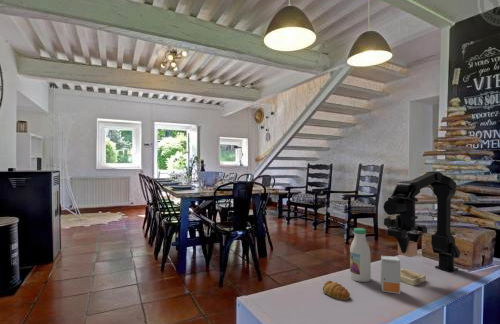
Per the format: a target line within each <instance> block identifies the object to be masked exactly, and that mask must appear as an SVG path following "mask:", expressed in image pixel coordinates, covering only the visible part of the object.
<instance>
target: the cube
mask: <svg viewBox="0 0 500 324" xmlns="http://www.w3.org/2000/svg"><path fill="white" fill-rule="evenodd" d="M397 255H400V256H404V257H407V258H412V257H415V256H418V243H416V242H412V241H409V243H408V246H407V250H406V252H405V253H402V251H401V248H400V246H399V243H398V242H397Z"/></svg>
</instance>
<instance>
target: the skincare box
mask: <svg viewBox="0 0 500 324" xmlns="http://www.w3.org/2000/svg"><path fill="white" fill-rule="evenodd" d="M400 269H401V260H400V257H399V256H398V257H396V256H390V255H389V256H388V255H380V289H381V292H382V293H383V292H384V293H388V294H389V293H391V294H396V295H400V294H401V281H400Z"/></svg>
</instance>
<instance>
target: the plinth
mask: <svg viewBox="0 0 500 324" xmlns="http://www.w3.org/2000/svg"><path fill="white" fill-rule="evenodd" d="M426 276H427V275H424V274H422V273H419V272H415V271H412V270H409V269H406V268H400V283H404V284H407V285H410V286H416V285H418V284H421V283H423V282H426V279H427V277H426Z"/></svg>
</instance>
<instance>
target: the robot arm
mask: <svg viewBox="0 0 500 324" xmlns="http://www.w3.org/2000/svg"><path fill="white" fill-rule="evenodd" d="M395 185H396V186H395V188H394V190H393V191H392V193H391V196H388V197H387V200H386V201H384V204H383V207H382V208H383V210H384V212H385V214H387V215H389V216H392V215H393V216H394V215H396V216H395V218H393V219H391V218H390V217H386V218H383V226H385V227H386V228H387V229H386V236H389V237H393V238H395V239H396V240H397V244H398V243H399V246H400V248H401V251H402V253H405V252H406V250H407V246H408V243H409V241H412V242H416V243H417V244H418V242H419V241H420V240H421V238H422V236H423V234H427V233H428V227H427V226H426V225H424V224H420V223H419V224H417V223H416V220H417V219H418V218H419V217H418V216H417V215H416V203H417V202H419V199H418V198H417V197H416V196H418V195H419V194H420V193H421V190H422V189H424V188H426V187H428V186H431V188H432V193H433V194H434V195H435V197H436V201H437V202H436V205H437V206H436V209H437V210H436V231H435V232H434V234H431V236H430V237H431V238H430V239H431V242H430V245H431V248H432V251H433V253H434V254H438V265H435V266H434V267H435V269H440V270H443V271H446V272H449V273H452V272H454V271H458V270H459V268H458V267H455V259H456V258H457V259H459V257H460V255H461V251H460V249H459V248H458V246H457V245H456V239H455V237H454V235H453V234H452V233H451V215H452V212H451V211H452V210H451V209H452V206H451V205H452V198H453V197H454V196H455V195H456V193H457V192H456V191H457V186H458V185H457V182H456V181H455V180H454V179H452V177H450V176H447V175H445V174H443V173H442V172H440V171H427V172H425V173H424V174H422V175H420V176H417V177H416V178H414V179H409V180H402V181H398V182H397V184H395ZM420 232H421V233H420Z"/></svg>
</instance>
